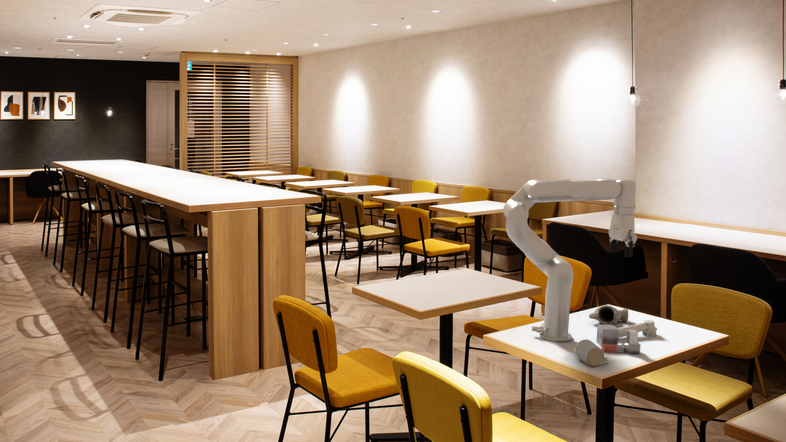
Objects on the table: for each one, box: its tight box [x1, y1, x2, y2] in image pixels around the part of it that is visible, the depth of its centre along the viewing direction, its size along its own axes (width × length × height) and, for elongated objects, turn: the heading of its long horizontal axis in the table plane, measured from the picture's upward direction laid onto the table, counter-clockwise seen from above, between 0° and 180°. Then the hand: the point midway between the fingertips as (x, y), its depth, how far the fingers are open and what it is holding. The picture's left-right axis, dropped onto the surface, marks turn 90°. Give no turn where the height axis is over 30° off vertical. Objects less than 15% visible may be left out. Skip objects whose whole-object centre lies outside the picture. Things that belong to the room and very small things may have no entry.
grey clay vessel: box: [588, 304, 629, 325], centre depth 262 cm, size 16×9×15 cm
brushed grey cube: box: [595, 324, 619, 347], centre depth 233 cm, size 6×6×7 cm
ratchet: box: [600, 330, 641, 356], centre depth 226 cm, size 14×6×8 cm, turn 91°
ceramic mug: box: [574, 339, 609, 368], centre depth 213 cm, size 11×8×8 cm
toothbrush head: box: [616, 319, 658, 339], centre depth 244 cm, size 5×7×25 cm
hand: (620, 254), depth 236 cm, fingers open, 9 cm apart
